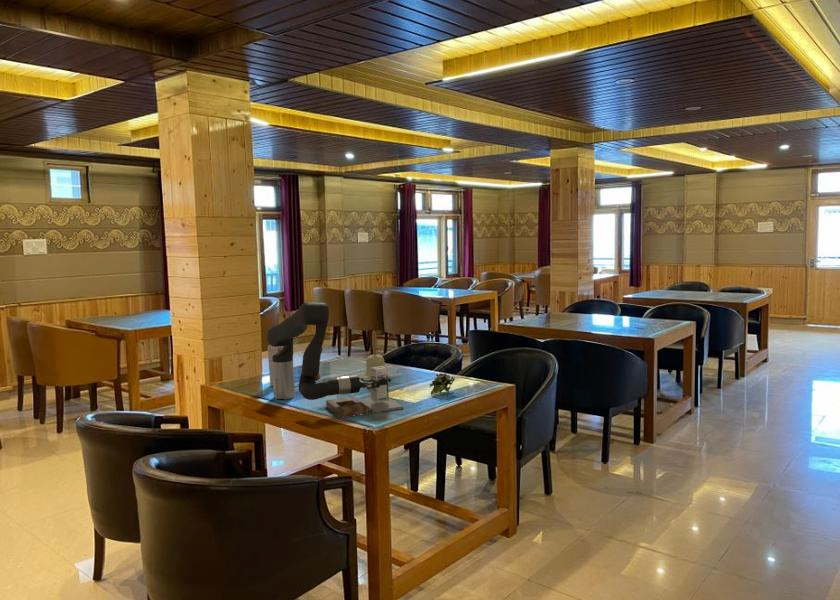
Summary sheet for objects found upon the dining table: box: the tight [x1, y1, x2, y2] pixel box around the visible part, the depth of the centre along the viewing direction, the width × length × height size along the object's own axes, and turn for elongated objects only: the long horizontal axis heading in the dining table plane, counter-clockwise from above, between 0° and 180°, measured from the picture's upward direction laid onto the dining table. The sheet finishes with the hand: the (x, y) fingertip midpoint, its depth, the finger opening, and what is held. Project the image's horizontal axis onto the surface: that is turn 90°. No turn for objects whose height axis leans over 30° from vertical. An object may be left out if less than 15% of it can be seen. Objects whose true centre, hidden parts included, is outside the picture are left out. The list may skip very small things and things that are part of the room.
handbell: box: [360, 331, 392, 379], centre depth 323 cm, size 15×15×25 cm
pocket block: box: [325, 396, 369, 419], centre depth 268 cm, size 12×20×3 cm, turn 24°
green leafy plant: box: [429, 372, 456, 396], centre depth 290 cm, size 11×11×12 cm
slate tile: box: [358, 397, 404, 413], centre depth 274 cm, size 13×20×1 cm, turn 24°
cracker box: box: [266, 344, 283, 386], centre depth 322 cm, size 14×6×21 cm, turn 174°
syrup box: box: [370, 366, 390, 403], centre depth 273 cm, size 6×6×14 cm
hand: (384, 380), depth 274 cm, fingers closed on syrup box, 6 cm apart
